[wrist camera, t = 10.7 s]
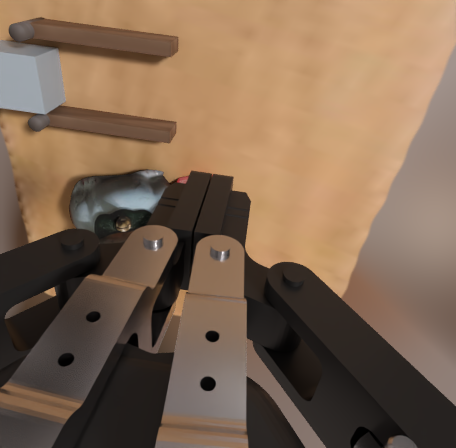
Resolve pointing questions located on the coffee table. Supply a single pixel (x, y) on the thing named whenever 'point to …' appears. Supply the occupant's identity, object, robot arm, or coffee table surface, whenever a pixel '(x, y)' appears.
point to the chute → (102, 39)
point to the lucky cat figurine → (116, 203)
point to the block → (30, 77)
